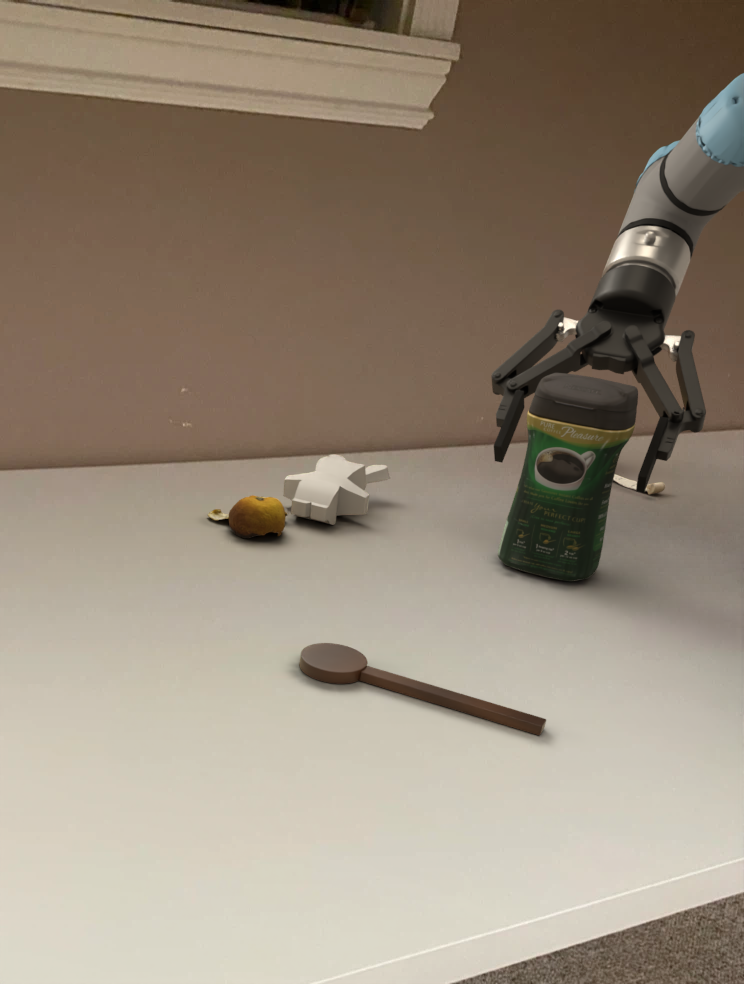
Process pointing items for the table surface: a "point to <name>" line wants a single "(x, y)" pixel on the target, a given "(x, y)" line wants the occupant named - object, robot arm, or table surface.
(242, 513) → the fruit
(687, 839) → the table surface
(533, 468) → the coffee jar
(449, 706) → the spoon
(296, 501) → the white toy figure
